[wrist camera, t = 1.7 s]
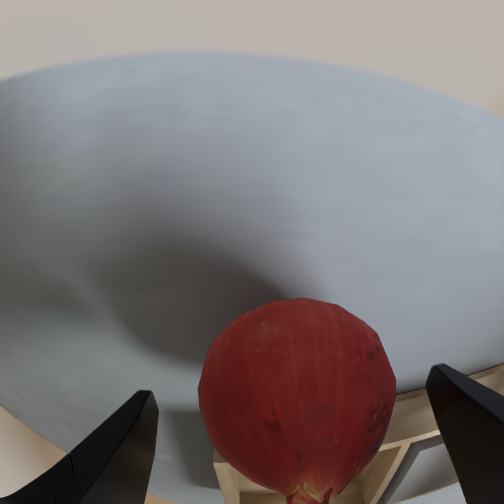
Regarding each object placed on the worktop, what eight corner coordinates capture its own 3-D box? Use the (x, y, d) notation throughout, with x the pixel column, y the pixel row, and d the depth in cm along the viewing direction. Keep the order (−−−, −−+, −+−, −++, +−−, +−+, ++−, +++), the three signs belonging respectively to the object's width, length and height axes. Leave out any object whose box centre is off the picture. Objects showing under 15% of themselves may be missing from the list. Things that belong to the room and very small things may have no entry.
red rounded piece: (358, 252, 11) (487, 408, 4) (350, 371, 13) (407, 524, 6) (199, 267, 11) (140, 463, 4) (222, 385, 13) (211, 553, 6)
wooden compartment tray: (506, 360, 14) (533, 391, 11) (459, 448, 17) (474, 477, 14) (216, 411, 14) (211, 465, 11) (233, 491, 17) (233, 530, 14)
